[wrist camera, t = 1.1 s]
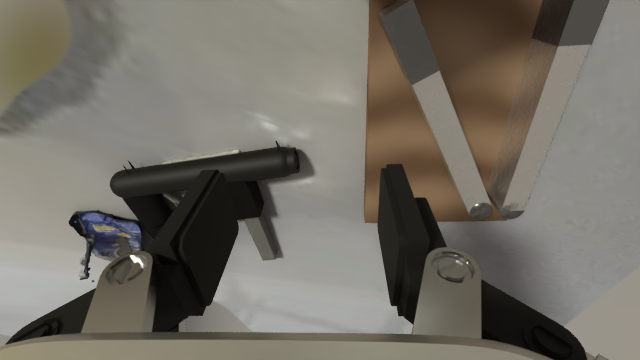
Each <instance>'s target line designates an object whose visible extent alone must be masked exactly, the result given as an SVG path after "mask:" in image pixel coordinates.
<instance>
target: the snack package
mask: <svg viewBox="0 0 640 360" xmlns="http://www.w3.org/2000/svg"><path fill="white" fill-rule="evenodd" d="M112 216H113V215H112V214H105V213H102V212H100V211H98V210H97V211H86V212H78V211H77V212H75V213H74V214H73V215H72V217H71V219H70V220H69V224H70V226H72V227H74V229H75V230H76V231H77V233H78V234H80V236H83V237H84V238H85V239H86V242H87V243H86V252H85V255H84V257H83V258H81V262H80V264H82V269H81V271H80V275H79V276H80V280H83V279H88V277H89V274H90V273H88V271H89V270H90V268H88V263H89V262H90V256H91V252H92V253H93V254H95V256H97V257H99V258H102V259H104V260H109V261H111V262H112V261H114V260H115V259H117V258H119V248H120V245H119V244H118V243H117V242H116V241H115V240H114V239H116V238H120V237H121V236H123V237H124V238H125V239H126V241H127V242H128V243H129V244H130V248H131V252H136V251H143V245H142V239H141V230H142V226H141V222H140V221H126V220H117V219H114V218H113V217H112ZM92 282H94V280H93V281H92Z"/></svg>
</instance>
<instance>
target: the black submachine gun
mask: <svg viewBox="0 0 640 360" xmlns="http://www.w3.org/2000/svg"><path fill="white" fill-rule="evenodd" d="M276 144H277V147H275V148H269V149H262V150H255V151H249V152H242V153H240V151H239V150H233V151H229V152H223V153H216V154H210V155H203V156H196V157H190V158H183V159H177V160H170V161H164V162H163V163H162V164H161V165H155V166H148V167H141V168H134V167H133V166H132V164H131V163H130V162H129V163H130V165H131V167H132V169H128V170H127V169H126V168H125V167H124V168H125V170H122V171H119V172H117V173H116V174H114V175H113V177H112V178H111V181H110V187H111V190H112V191H113V193H114V194H116V195H117V196H119V197H122V198H123V200H124V201H125V202H126V204H127V205H128V206H129V208H130V209H131V210H132V212H133V213H134V214H135V216H136V217H137V218H138V220H139V221H140V222H141V224H142V225H143V226H144V228H145V229H146V230H147V232H148V233H149V234H150V236H151V237H152V238H153V240H154V239H155V237H156V236H157V234H158V233H159V231H160V230H161V228H162V227H163V226H164V224H165V223H166V221H167V220H168V218H169V217H170V215H171V214H172V213H171V212H170V210H169V209H168V207H167V206H166V204H165V202H164V201H163V199H162V198H161V196H160V195H159V194H161V193H162V194H163V195H164V196H165V197H166V198H168V199H169V200H170V201H172V202H173V203H175V204H176V205H178V204H179V202H180V201H181V200H180V199H178V198H177V197H175V196H174V195H172V194H171V193H170V192H176V191H183V190H188V189H189V188H190V187H191V185H192V184H193V182H194V181H195V179H196V178H197V176H198V175H199V174H200V172H201V171H202V170H213V169H217V170H219V172H220V173H223V174H224V175H225V178H226V182H227V186H228V189H229V193H230V196H231V200H232V204H233V207H234V211H235V214H236V218H237V220H239V219H244V221H245V223H246V225H247V227H248V229H249V231H250V234H251V236H252V238H253V240H254V242H255V244H256V246H257V249H258V251H259V253H260V255H261V257H262V259H263V260H273V259H276V254H277V250H276V247H275V245H274V242H273V239H272V237H271V234H270V231H269V229H268V226H267V223H266V220H265V218H264V215H263V212H262V209H263V205H264V201H263V198H262V195H261V193H260V190H259V187H258V184H257V182H256V181H258V180H265V179H273V178H280V177H286V176H289V175H291V174H294V173H299V169H300V165H299V157H298V153H297V150H296V148H295V147H294V148H287V147H280V146H278V144H279V143H277V141H276Z"/></svg>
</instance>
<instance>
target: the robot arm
mask: <svg viewBox="0 0 640 360" xmlns="http://www.w3.org/2000/svg"><path fill="white" fill-rule="evenodd" d="M238 230H239V226H238V222H237V218H236V214H235V211H234V207H233V204H232V200H231V196H230V193H229V189H228V186H227V182H226V178H225V175H224V174H223V173H220V172H219V170H217V169H213V170H202V171H201V172H200V174H199V175H198V176H197V178H196V179H195V181H194V182H193V184H192V185H191V187H190V188H189V189H188V191H187V192H186V194H185V195H184V197H183V198H182V200H181V201H180V202H179V204H178V205H177V207H176V208H175V210H174V211H173V213H172V214H171V215H170V217H169V218H168V220H167V221H166V223H165V224H164V226H163V227H162V228H161V230H160V231H159V233H158V234H157V236H156V237H155V239H154V240H153V241H152V243H151V246H150V247H149V248H148V250H147V251H146V252H144V251H136V252H131V253H128V254H125V255H122V256H121V257H119V258H117V259H115V260H114V261H112V262H111V263H110V264H109V265H108V266H107V267H106V268H105V269H104V270H103V272H102V274H101V276H100V278H99V281H98V284H97V287H96V288H95V289H93V290H91V291H89V292H87V293H85V294H84V295H82V296H80V297H78V298H76V299H74V300H72V301H70V302H69V303H67V304H65V305H63V306H61V307H59V308H57V309H55V310H53V311H52V312H50V313H48V314H46V315H44V316H42V317H40V318H38V319H37V320H35V321H33V322H31V323H30V324H28V325H26V326H25V327H23V328H22V329H21V330H19V331H18V332H17V333H16V334H15V335H13V336H12V338H11V339H10V340H9V341H8V342H7V343H6V345H4V346H2V347H0V360H608V359H606V358H605V357H603V356H601V355H599V354H598V355H597V357H596V358H595V357H594V356H592V355H590V354H588V353H587V352H585V350H584V348H583V347H582V345H581V343H580V342H579V341H578V339H577V338H576V337H575V336H574V335H573V334H571V332H570V331H569V330H567V329H565V328H564V327H563V326H561V325H560V324H558V323H557V322H555V321H553V320H551V319H550V318H548V317H546V316H544V315H543V314H541V313H539V312H537V311H536V310H534V309H532V308H530V307H529V306H527V305H525V304H523V303H522V302H520V301H518V300H516V299H515V298H513V297H511V296H509V295H508V294H506V293H504V292H502V291H501V290H499V289H497V288H495V287H494V286H492V285H490V284H488V283H487V282H485V281H483V280H481V271H480V267H479V265H478V264H477V262H476V261H475V260H474V259H473V258H472V257H471V256H470V255H468V254H466V253H465V252H463V251H461V250H458V249H455V248H448V247H447V246H446V244H445V241H444V239H443V237H442V234H441V232H440V229H439V227H438V225H437V222H436V220H435V217H434V215H433V213H432V210H431V208H430V205H429V203H428V201H427V199H426V198H425V197H416V198H414V195H413V192H412V190H411V187H410V184H409V181H408V179H407V176H406V173H405V170H404V168H403V165H402V164H387V165H386V168H381V173H380V190H379V207H378V234H379V240H380V245H381V251H382V257H383V263H384V269H385V275H386V280H387V286H388V292H389V298H390V303H391V306H397V311H398V316H404V318H406V319H407V320H408V321H409V322H411V323H412V324H413V329H412V334H366V333H259V332H184V331H185V319H186V318H188V316H203V313H204V310H205V308H206V306H209V305H210V304H211V303H212V301H213V298H214V295H215V293H216V290H217V287H218V285H219V282H220V279H221V277H222V274H223V272H224V269H225V266H226V264H227V261H228V258H229V256H230V253H231V250H232V248H233V245H234V243H235V240H236V237H237V235H238Z"/></svg>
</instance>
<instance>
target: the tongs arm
mask: <svg viewBox="0 0 640 360" xmlns="http://www.w3.org/2000/svg"><path fill="white" fill-rule="evenodd" d="M377 16H378V19H379V21H380V23H381V25H382V28H383V30H384V32H385V34H386V37H387V39H388V41H389V43H390V45H391V48H392V50H393V52H394V54H395V57H396V59H397V61H398V63H399V65H400V68H401V70H402V72H403V74H404V76H405V77H406V79H407V82H408V84H409V86H410V88H411V91H412V93H413V95H414V97H415V99H416V102H417V104H418V106H419V108H420V111H421V113H422V115H423V117H424V120H425V122H426V124H427V126H428V128H429V131H430V133H431V135H432V137H433V140H434V142H435V144H436V146H437V149H438V151H439V153H440V155H441V158H442V160H443V162H444V164H445V166H446V169H447V171H448V173H449V175H450V178H451V180H452V182H453V184H454V187H455V189H456V191H457V193H458V195H459V197H460V199H461V201H462V203H463V204H464V206H465V208H466V210H467V211H468V213H469V215H470V217H471V218H473V219H476V220H480V219H484V218H486V217H488V216H489V215H490V214H491V212H492V206H491V203H490V201H489V198H488V195H487V193H486V190H485V188H484V185H483V182H482V180H481V177H480V175H479V172H478V169H477V167H476V164H475V162H474V159H473V156H472V154H471V151H470V149H469V146H468V143H467V141H466V138H465V136H464V133H463V130H462V128H461V125H460V123H459V120H458V117H457V115H456V112H455V110H454V107H453V105H452V102H451V99H450V97H449V94H448V92H447V89H446V86H445V84H444V81H443V79H442V76H441V73H440V71H439V70H440V68H439V66H438V63H437V60H436V58H435V55H434V53H433V50H432V47H431V45H430V42H429V40H428V37H427V34H426V32H425V29H424V26H423V24H422V21H421V19H420V16H419V13H418V11H417V8H416V6H415V3H414V0H397V1H395V2H394V3H392V4H390V5H389V6H387V7H386V8H384V9H383V10H381V11H380V12H378V13H377Z"/></svg>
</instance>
